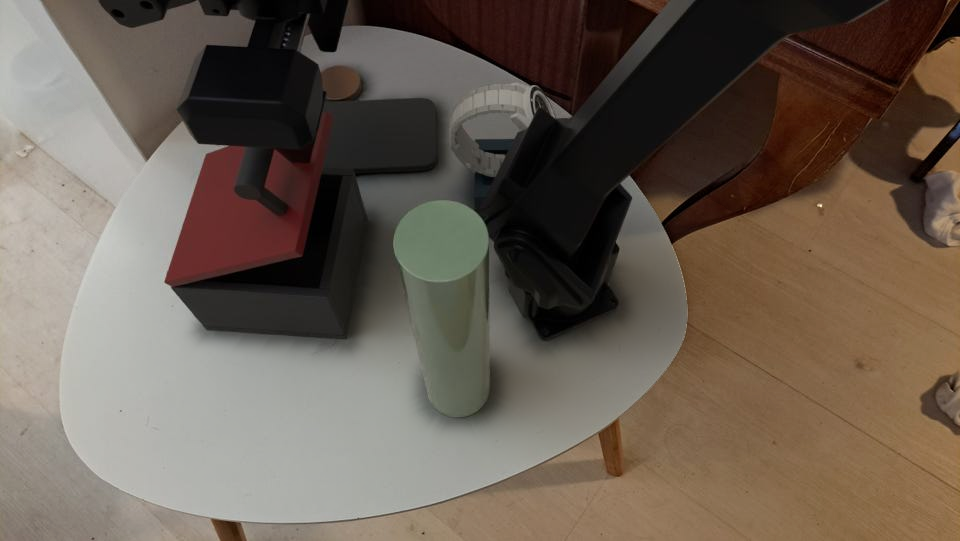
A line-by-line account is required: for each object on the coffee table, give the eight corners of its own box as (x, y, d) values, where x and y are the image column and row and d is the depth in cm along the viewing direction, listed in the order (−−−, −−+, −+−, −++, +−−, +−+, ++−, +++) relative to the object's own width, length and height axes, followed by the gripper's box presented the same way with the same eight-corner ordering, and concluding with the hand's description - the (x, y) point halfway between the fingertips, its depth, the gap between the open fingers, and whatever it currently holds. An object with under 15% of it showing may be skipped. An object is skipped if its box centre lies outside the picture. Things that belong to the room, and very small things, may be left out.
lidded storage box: (367, 218, 57) (353, 167, 52) (345, 339, 52) (327, 298, 47) (239, 211, 58) (211, 159, 52) (205, 329, 53) (170, 287, 47)
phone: (437, 165, 59) (251, 174, 58) (438, 171, 60) (254, 180, 59) (435, 96, 62) (260, 103, 62) (435, 102, 63) (262, 110, 63)
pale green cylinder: (474, 348, 52) (465, 186, 34) (500, 402, 50) (505, 259, 33) (417, 372, 51) (378, 219, 34) (441, 428, 49) (414, 296, 32)
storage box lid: (334, 117, 47) (289, 74, 44) (302, 256, 42) (249, 219, 39) (213, 159, 52) (164, 122, 49) (172, 287, 47) (115, 256, 44)
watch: (554, 219, 57) (567, 128, 48) (452, 219, 57) (445, 128, 48) (551, 162, 60) (563, 65, 50) (454, 162, 60) (447, 65, 50)
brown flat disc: (352, 66, 65) (351, 59, 65) (368, 96, 64) (366, 90, 63) (310, 80, 65) (308, 73, 64) (324, 111, 63) (323, 105, 62)
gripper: (132, -251, 37) (227, -5, 51) (-14, 3, 28) (149, 218, 42) (346, -243, 37) (384, 3, 51) (265, 17, 28) (338, 230, 42)
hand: (315, 103), depth 46 cm, fingers open, 9 cm apart
